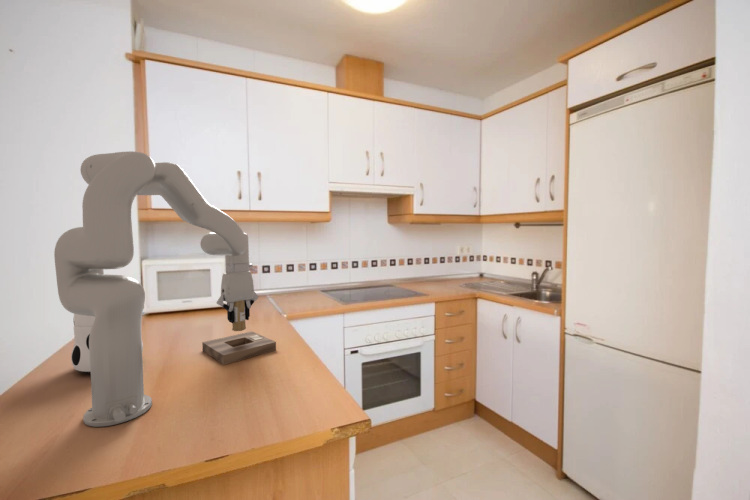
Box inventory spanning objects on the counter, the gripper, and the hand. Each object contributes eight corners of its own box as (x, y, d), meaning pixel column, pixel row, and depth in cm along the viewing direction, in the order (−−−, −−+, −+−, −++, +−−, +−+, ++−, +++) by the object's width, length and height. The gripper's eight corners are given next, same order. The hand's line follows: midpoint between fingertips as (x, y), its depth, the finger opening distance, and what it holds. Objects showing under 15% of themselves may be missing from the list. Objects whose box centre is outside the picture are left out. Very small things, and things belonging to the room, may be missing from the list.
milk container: (86, 360, 110) (84, 305, 109) (149, 353, 116) (147, 301, 115) (60, 382, 94) (56, 318, 93) (134, 373, 100) (132, 312, 99)
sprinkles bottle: (247, 330, 118) (246, 291, 117) (233, 332, 116) (232, 293, 115) (244, 327, 122) (243, 289, 121) (230, 329, 119) (229, 291, 119)
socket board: (276, 350, 119) (275, 341, 119) (223, 364, 106) (223, 354, 106) (252, 338, 132) (251, 330, 132) (202, 350, 119) (202, 341, 119)
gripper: (255, 265, 126) (256, 314, 127) (207, 269, 114) (209, 323, 115) (265, 267, 121) (266, 318, 122) (216, 271, 109) (218, 328, 110)
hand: (238, 320), depth 119 cm, fingers closed on sprinkles bottle, 4 cm apart
